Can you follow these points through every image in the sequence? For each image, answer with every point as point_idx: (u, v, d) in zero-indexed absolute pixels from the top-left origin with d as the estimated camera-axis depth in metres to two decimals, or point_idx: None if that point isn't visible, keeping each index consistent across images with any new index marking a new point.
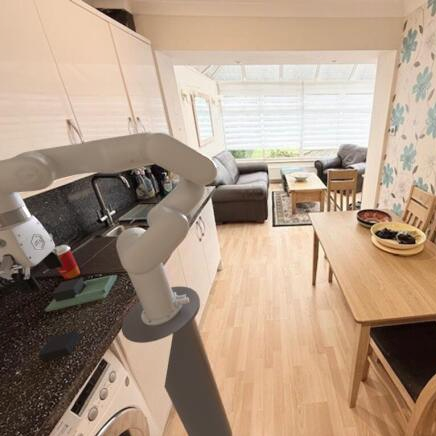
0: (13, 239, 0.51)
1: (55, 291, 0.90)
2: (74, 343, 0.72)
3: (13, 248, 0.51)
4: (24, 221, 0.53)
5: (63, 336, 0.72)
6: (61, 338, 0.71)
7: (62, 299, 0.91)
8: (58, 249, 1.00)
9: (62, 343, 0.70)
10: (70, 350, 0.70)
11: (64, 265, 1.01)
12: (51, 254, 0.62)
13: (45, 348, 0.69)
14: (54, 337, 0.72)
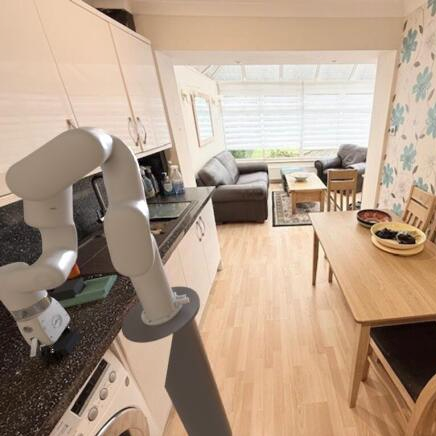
0: (38, 325, 0.62)
1: (55, 291, 0.90)
2: (74, 343, 0.72)
3: (38, 332, 0.62)
4: (46, 308, 0.64)
5: (63, 336, 0.72)
6: (61, 338, 0.71)
7: (62, 299, 0.91)
8: None
9: (62, 343, 0.70)
10: (70, 350, 0.70)
11: None
12: (65, 329, 0.73)
13: (45, 348, 0.69)
14: None
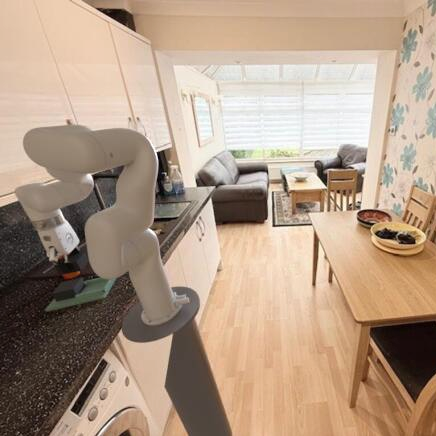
0: (55, 236, 0.76)
1: (55, 291, 0.90)
2: (83, 261, 0.85)
3: (55, 242, 0.76)
4: (62, 223, 0.78)
5: (73, 255, 0.85)
6: (72, 256, 0.85)
7: (62, 299, 0.91)
8: None
9: (73, 258, 0.83)
10: (80, 265, 0.83)
11: None
12: (75, 250, 0.87)
13: None
14: None
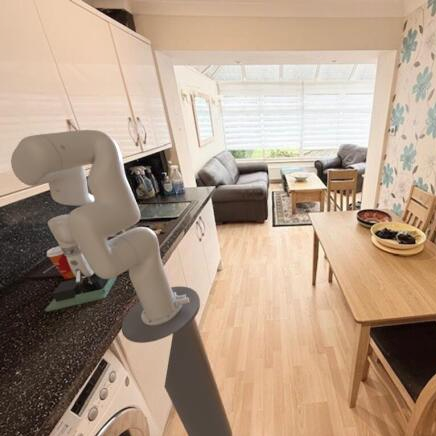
0: (81, 260, 0.86)
1: (55, 291, 0.90)
2: (103, 280, 0.96)
3: (81, 265, 0.87)
4: None
5: (95, 275, 0.96)
6: (94, 276, 0.96)
7: (62, 299, 0.91)
8: (58, 249, 1.00)
9: (95, 278, 0.94)
10: (101, 284, 0.94)
11: (64, 265, 1.01)
12: None
13: None
14: None
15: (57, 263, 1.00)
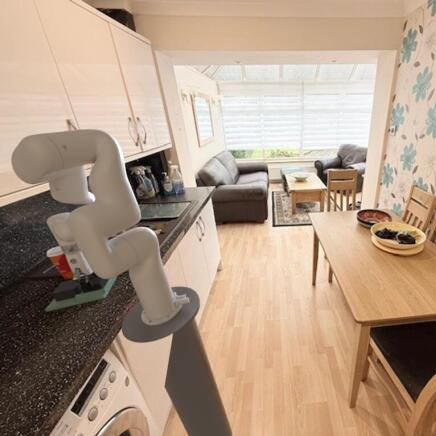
0: (80, 259, 0.86)
1: (55, 291, 0.90)
2: (104, 282, 0.96)
3: (80, 264, 0.86)
4: None
5: (96, 276, 0.96)
6: (95, 277, 0.96)
7: (62, 299, 0.91)
8: (58, 249, 1.00)
9: (96, 280, 0.94)
10: (102, 285, 0.94)
11: (64, 265, 1.01)
12: None
13: None
14: (90, 277, 0.96)
15: (57, 263, 1.00)
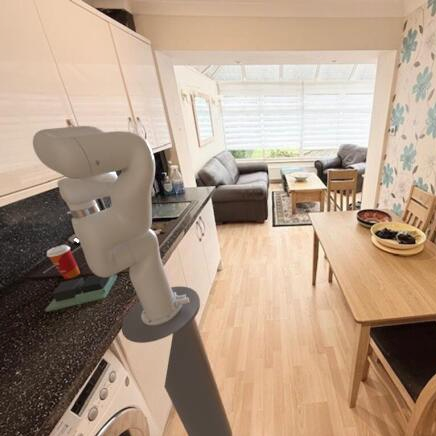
0: None
1: (55, 291, 0.90)
2: (104, 282, 0.96)
3: None
4: (78, 218, 0.82)
5: (96, 276, 0.96)
6: (95, 277, 0.96)
7: (62, 299, 0.91)
8: (58, 249, 1.00)
9: (96, 280, 0.94)
10: (102, 285, 0.94)
11: (64, 265, 1.01)
12: None
13: (84, 283, 0.93)
14: (90, 277, 0.96)
15: (57, 263, 1.00)
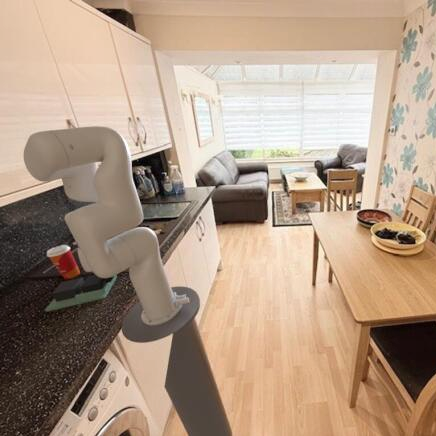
0: (78, 255, 0.88)
1: (55, 291, 0.90)
2: (104, 282, 0.96)
3: None
4: None
5: (96, 276, 0.96)
6: (95, 278, 0.96)
7: (62, 299, 0.91)
8: (58, 249, 1.00)
9: (96, 280, 0.94)
10: (102, 285, 0.94)
11: (64, 265, 1.01)
12: None
13: (84, 283, 0.93)
14: (89, 277, 0.96)
15: (57, 263, 1.00)
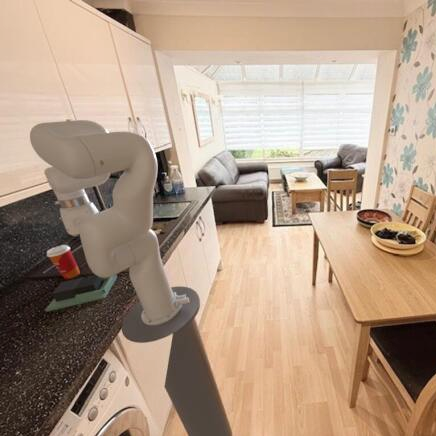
0: (61, 216, 0.81)
1: (55, 291, 0.90)
2: (98, 283, 0.96)
3: None
4: (66, 208, 0.79)
5: (90, 278, 0.96)
6: (89, 279, 0.95)
7: (62, 299, 0.91)
8: (58, 249, 1.00)
9: (90, 281, 0.94)
10: (96, 287, 0.94)
11: (64, 265, 1.01)
12: None
13: (78, 285, 0.92)
14: (83, 279, 0.96)
15: (57, 263, 1.00)
